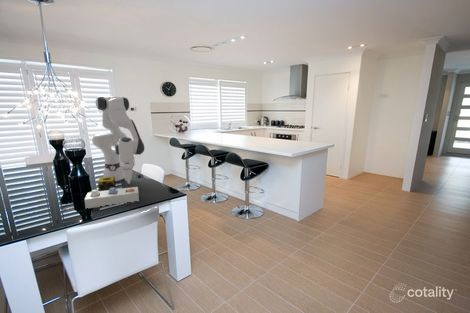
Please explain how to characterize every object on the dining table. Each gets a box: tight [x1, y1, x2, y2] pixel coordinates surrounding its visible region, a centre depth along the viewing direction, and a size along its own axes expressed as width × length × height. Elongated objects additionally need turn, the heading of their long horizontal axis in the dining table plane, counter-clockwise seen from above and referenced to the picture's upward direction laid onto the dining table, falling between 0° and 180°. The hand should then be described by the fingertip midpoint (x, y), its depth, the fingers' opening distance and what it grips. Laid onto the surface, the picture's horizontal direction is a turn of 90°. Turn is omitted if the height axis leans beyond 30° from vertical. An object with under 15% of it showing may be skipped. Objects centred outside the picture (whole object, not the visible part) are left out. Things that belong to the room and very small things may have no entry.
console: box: [84, 186, 140, 210], centre depth 152 cm, size 12×30×6 cm, turn 114°
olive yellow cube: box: [97, 176, 117, 191], centre depth 167 cm, size 10×10×10 cm
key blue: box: [109, 187, 117, 194], centre depth 151 cm, size 4×4×5 cm
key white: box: [90, 189, 99, 197], centre depth 147 cm, size 4×4×5 cm
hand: (128, 182), depth 154 cm, fingers closed
